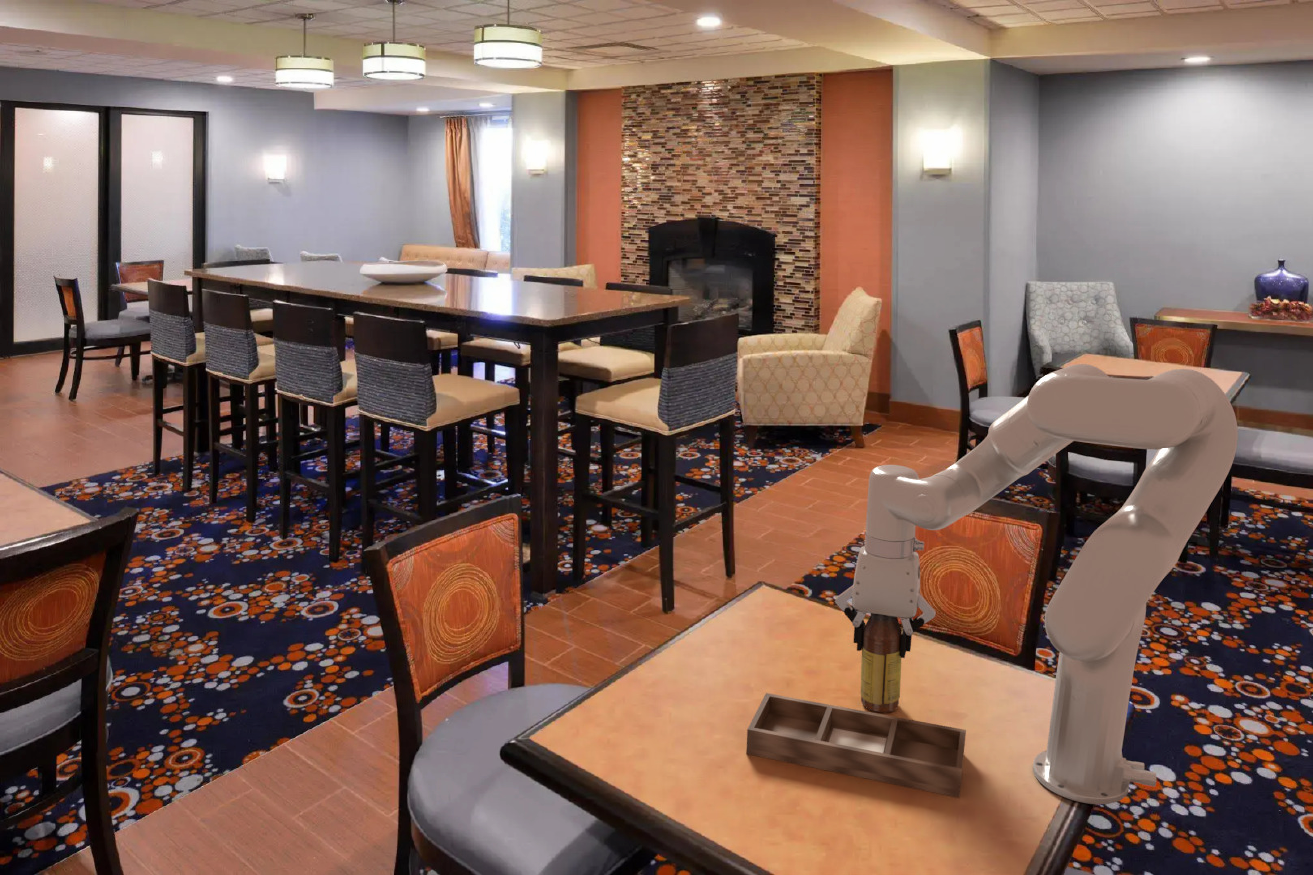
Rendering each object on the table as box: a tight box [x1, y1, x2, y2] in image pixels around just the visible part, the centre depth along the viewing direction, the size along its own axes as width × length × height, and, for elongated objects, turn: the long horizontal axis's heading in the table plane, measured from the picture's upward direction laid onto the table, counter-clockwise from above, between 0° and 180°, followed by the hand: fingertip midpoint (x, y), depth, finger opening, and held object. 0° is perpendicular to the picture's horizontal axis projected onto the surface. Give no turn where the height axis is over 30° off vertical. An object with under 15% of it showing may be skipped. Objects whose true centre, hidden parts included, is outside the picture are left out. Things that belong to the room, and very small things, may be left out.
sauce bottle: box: [860, 613, 903, 714], centre depth 158 cm, size 6×6×20 cm
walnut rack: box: [746, 692, 967, 798], centre depth 146 cm, size 30×12×4 cm, turn 71°
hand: (881, 649), depth 158 cm, fingers closed on sauce bottle, 6 cm apart
